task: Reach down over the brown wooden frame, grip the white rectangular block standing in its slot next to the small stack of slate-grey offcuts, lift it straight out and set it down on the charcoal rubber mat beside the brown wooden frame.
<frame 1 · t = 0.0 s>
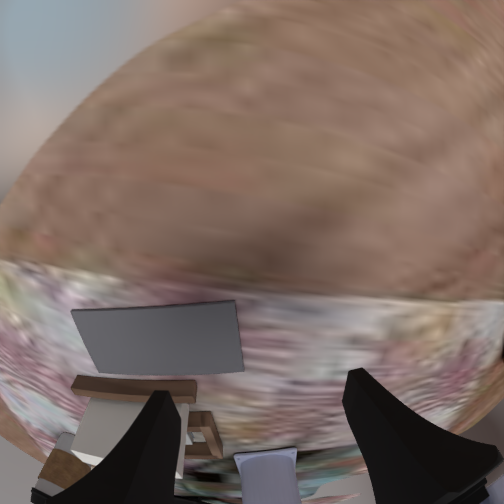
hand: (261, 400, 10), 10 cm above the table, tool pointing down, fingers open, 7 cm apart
white rectangular block: (140, 398, 23), on the table
brown wooden frame: (139, 399, 23), on the table
mat: (154, 343, 20), on the table
magazine: (148, 493, 35), on the table
coffee cup: (77, 442, 27), on the table
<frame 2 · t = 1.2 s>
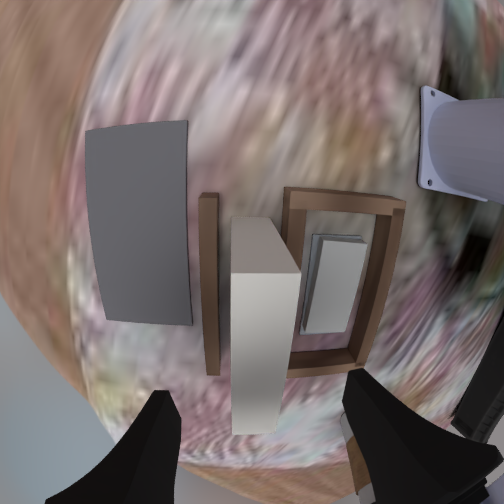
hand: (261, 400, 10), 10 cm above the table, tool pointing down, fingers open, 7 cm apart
white rectangular block: (247, 288, 19), on the table
brown wooden frame: (247, 288, 19), on the table
offcut lower: (326, 283, 20), on the table
mat: (136, 231, 17), on the table
magazine: (486, 353, 26), on the table
offcut upper: (331, 284, 19), resting on offcut lower
coffee cup: (363, 411, 26), on the table
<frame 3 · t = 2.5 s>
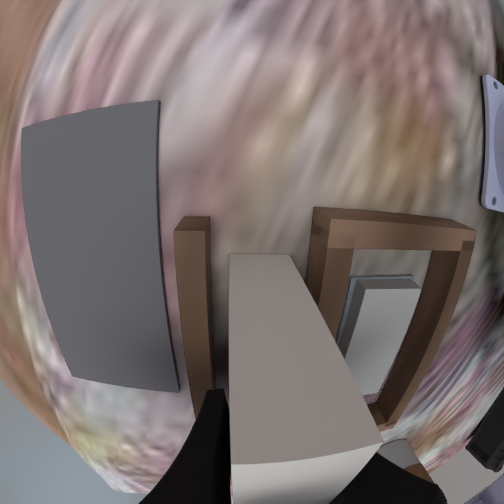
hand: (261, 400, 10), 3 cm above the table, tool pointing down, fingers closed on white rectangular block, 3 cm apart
white rectangular block: (254, 350, 13), on the table, touching gripper
brown wooden frame: (254, 351, 13), on the table
offcut lower: (359, 334, 14), on the table, touching offcut upper
mat: (91, 272, 11), on the table
offcut upper: (367, 339, 13), resting on offcut lower
coffee cup: (381, 453, 20), on the table
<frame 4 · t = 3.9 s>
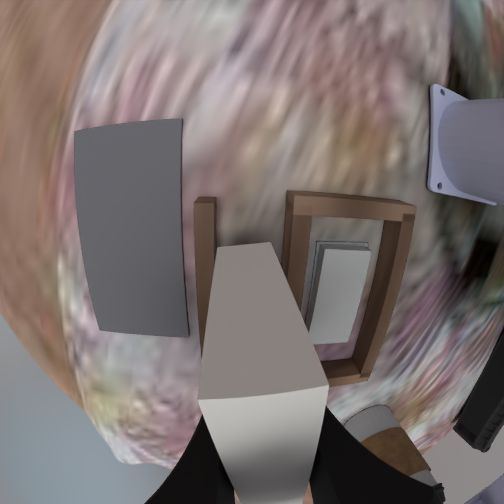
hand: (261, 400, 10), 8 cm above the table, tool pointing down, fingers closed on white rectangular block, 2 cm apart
white rectangular block: (252, 334, 14), point 4 cm above the table, touching gripper
brown wooden frame: (247, 299, 18), on the table
offcut lower: (330, 291, 19), on the table, touching offcut upper
mat: (128, 238, 16), on the table
magazine: (490, 359, 25), on the table
offcut upper: (333, 293, 18), resting on offcut lower
coffee cup: (365, 419, 25), on the table
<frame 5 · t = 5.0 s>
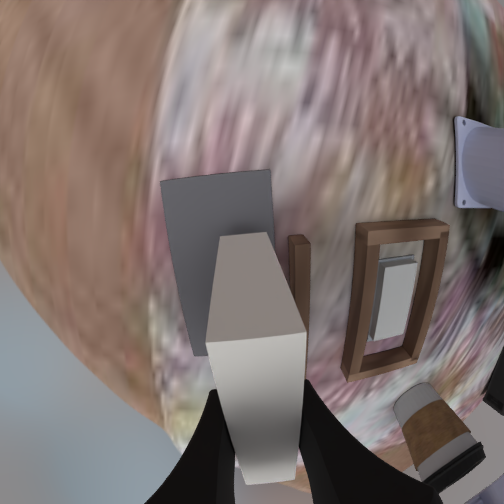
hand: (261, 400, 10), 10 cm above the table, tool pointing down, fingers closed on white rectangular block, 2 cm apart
white rectangular block: (251, 315, 16), point 4 cm above the table, touching gripper
brown wooden frame: (326, 311, 21), on the table
mat: (225, 275, 19), on the table
offcut upper: (390, 298, 21), resting on offcut lower
coffee cup: (411, 397, 27), on the table
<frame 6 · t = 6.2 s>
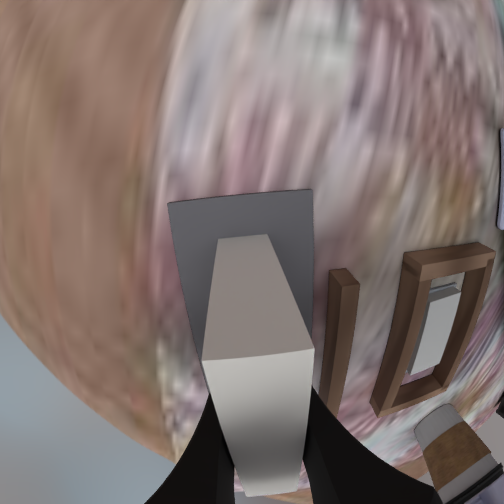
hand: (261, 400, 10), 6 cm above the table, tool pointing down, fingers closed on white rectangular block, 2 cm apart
white rectangular block: (251, 321, 15), resting on mat, touching gripper
brown wooden frame: (363, 349, 17), on the table
mat: (251, 318, 15), on the table
offcut upper: (429, 329, 17), resting on offcut lower
coffee cup: (432, 418, 24), on the table
when the fingers open (5 cm above the table, at t = 6.8 s): white rectangular block stays where it is, resting on mat.
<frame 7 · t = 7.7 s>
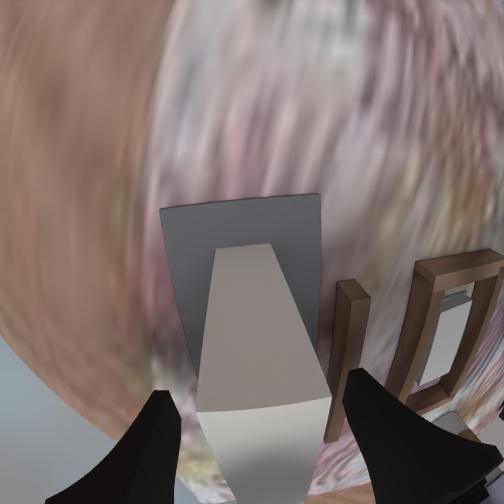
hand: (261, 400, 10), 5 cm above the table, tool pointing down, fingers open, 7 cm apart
white rectangular block: (252, 336, 14), resting on mat
brown wooden frame: (370, 362, 16), on the table
mat: (252, 333, 14), on the table
offcut upper: (439, 339, 16), resting on offcut lower
coffee cup: (436, 425, 22), on the table
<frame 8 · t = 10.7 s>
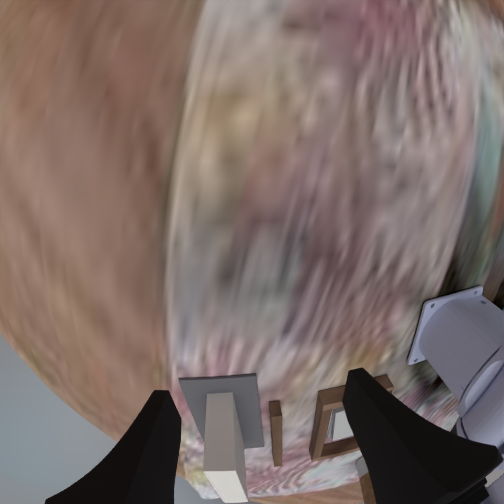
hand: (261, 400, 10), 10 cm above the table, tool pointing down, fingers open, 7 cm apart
white rectangular block: (227, 421, 25), resting on mat
brown wooden frame: (296, 429, 27), on the table
mat: (227, 418, 25), on the table
offcut upper: (344, 418, 27), resting on offcut lower
coffee cup: (371, 455, 33), on the table
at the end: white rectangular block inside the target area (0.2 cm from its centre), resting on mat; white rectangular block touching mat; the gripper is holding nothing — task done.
